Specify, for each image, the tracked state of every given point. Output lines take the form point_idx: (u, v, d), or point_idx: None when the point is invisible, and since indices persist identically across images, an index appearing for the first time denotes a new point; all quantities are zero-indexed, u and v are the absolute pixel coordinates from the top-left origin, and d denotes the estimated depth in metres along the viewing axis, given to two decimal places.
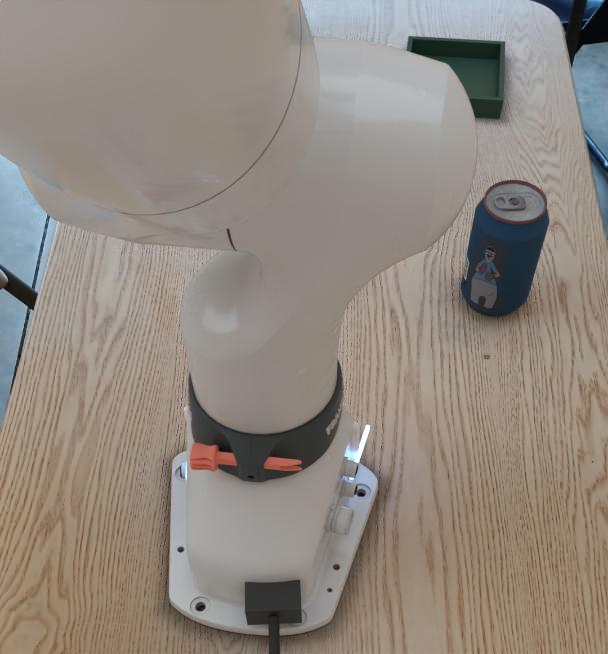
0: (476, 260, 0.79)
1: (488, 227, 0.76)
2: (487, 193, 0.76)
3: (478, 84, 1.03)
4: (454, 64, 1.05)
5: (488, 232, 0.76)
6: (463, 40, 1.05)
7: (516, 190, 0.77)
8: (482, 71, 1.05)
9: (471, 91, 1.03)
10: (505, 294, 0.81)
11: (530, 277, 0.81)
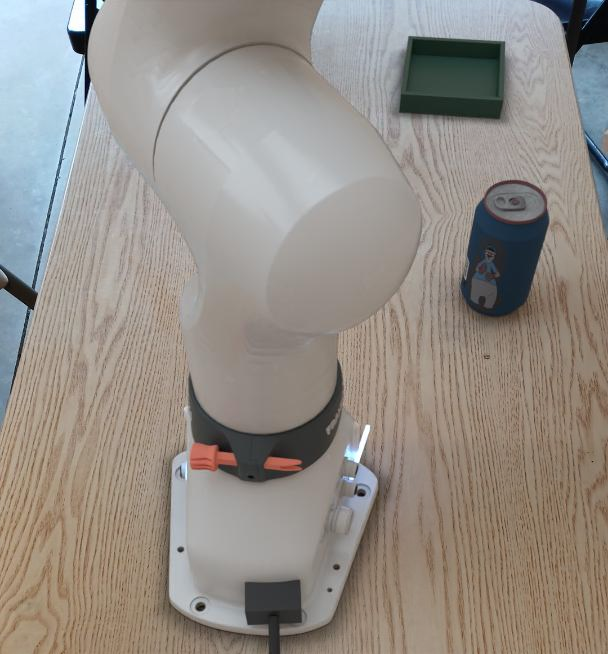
0: (476, 260, 0.79)
1: (488, 227, 0.76)
2: (487, 193, 0.76)
3: (478, 84, 1.03)
4: (454, 64, 1.05)
5: (488, 232, 0.76)
6: (463, 40, 1.05)
7: (516, 190, 0.77)
8: (482, 71, 1.05)
9: (471, 91, 1.03)
10: (505, 294, 0.81)
11: (530, 277, 0.81)
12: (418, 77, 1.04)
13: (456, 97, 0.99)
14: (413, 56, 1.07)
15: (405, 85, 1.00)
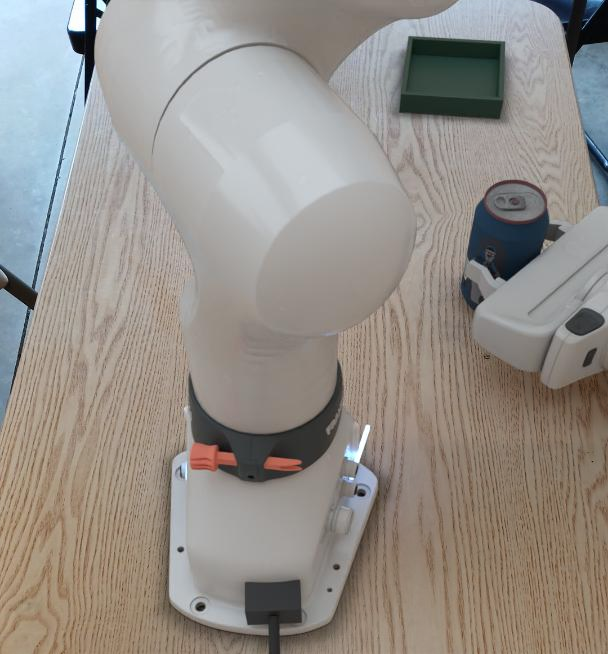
0: None
1: (488, 227, 0.76)
2: (487, 193, 0.76)
3: (478, 84, 1.03)
4: (454, 64, 1.05)
5: (488, 232, 0.76)
6: (463, 40, 1.05)
7: (516, 190, 0.77)
8: (482, 71, 1.05)
9: (471, 91, 1.03)
10: None
11: None
12: (418, 77, 1.04)
13: (456, 97, 0.99)
14: (413, 56, 1.07)
15: (405, 85, 1.00)
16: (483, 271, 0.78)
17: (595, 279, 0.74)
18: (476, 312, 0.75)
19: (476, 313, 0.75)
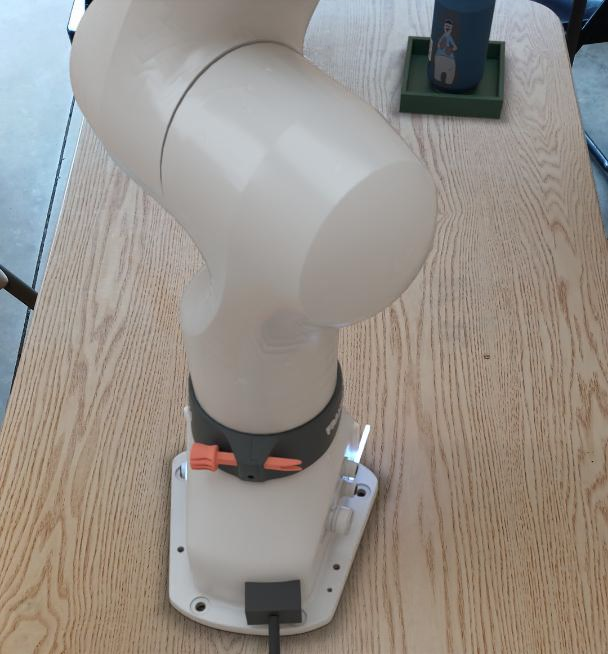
0: (438, 37, 0.97)
1: (446, 1, 0.93)
2: None
3: (478, 84, 1.03)
4: None
5: (446, 5, 0.93)
6: None
7: None
8: None
9: (471, 91, 1.03)
10: (462, 68, 0.99)
11: (482, 53, 0.98)
12: (418, 77, 1.04)
13: (456, 97, 0.99)
14: (413, 56, 1.07)
15: (405, 85, 1.00)
16: None
17: None
18: None
19: None
